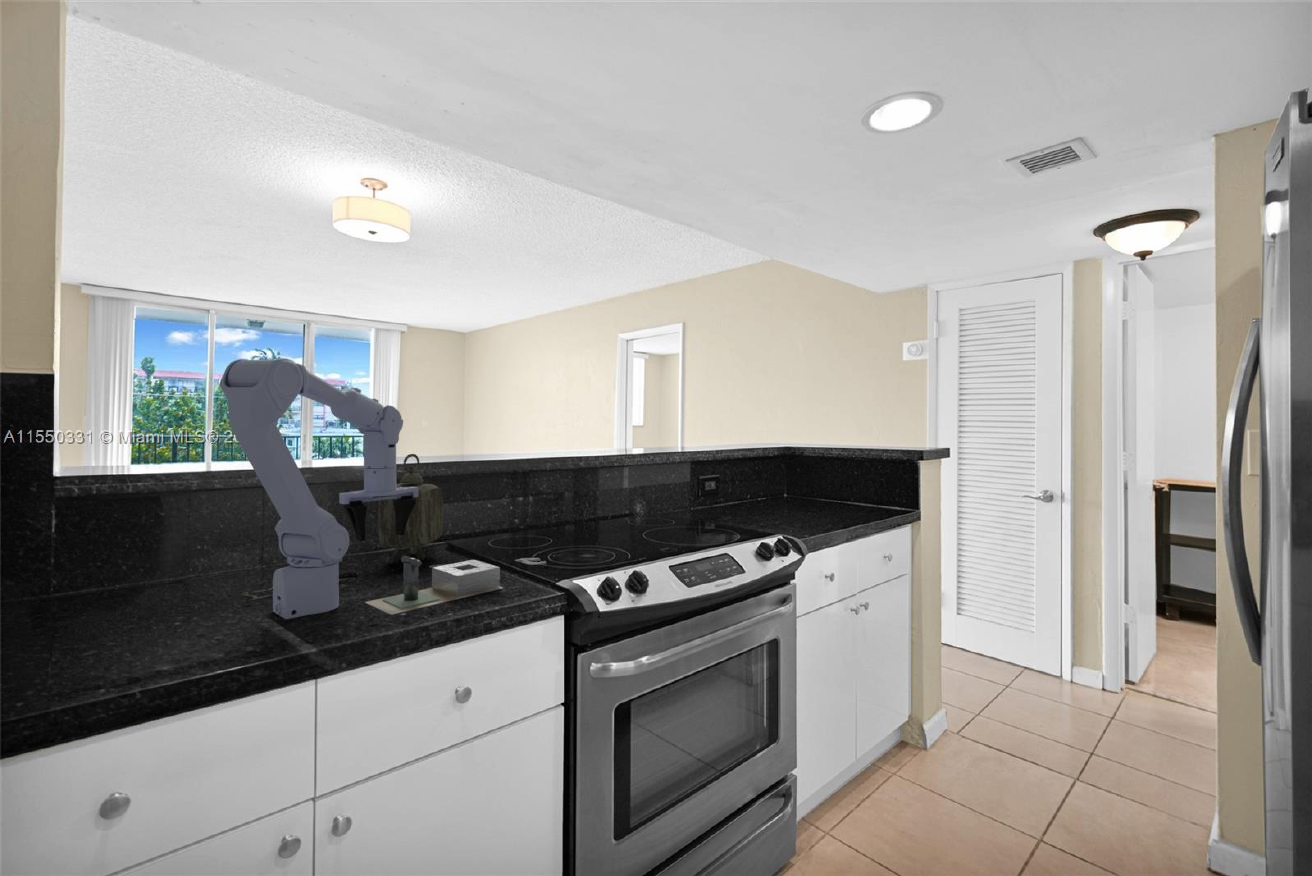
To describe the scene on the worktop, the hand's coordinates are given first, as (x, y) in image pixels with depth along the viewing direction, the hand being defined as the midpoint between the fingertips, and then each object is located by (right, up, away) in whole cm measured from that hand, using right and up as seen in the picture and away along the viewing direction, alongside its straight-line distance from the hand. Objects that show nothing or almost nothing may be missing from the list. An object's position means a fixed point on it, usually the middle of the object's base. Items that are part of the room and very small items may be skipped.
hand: (380, 537), depth 120 cm
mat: (+10, -10, -10) cm, 17 cm away
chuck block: (+17, -10, -1) cm, 19 cm away
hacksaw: (-16, -11, +1) cm, 19 cm away
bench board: (+13, -11, -6) cm, 18 cm away
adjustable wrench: (+16, -11, +20) cm, 27 cm away
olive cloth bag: (-4, -10, +26) cm, 28 cm away
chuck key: (+10, -9, -10) cm, 17 cm away
